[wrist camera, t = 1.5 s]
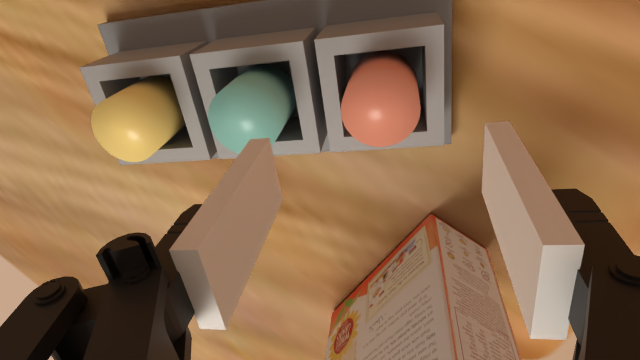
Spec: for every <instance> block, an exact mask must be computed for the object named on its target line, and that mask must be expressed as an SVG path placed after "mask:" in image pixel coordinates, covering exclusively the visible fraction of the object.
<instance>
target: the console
mask: <svg viewBox="0 0 640 360" xmlns="http://www.w3.org/2000/svg"><path fill="white" fill-rule="evenodd" d="M98 27H99V30H100V33H101V35H102V38H103V41H104V43H105V46H106V49H107V51H108V54H109V56H107V57H104V58H102V59H99V60H97V61H95V62H92V63H90V64H87V65H85V66H82V67H80V70H81V72H82V75H83V77H84V80H85V82H86V84H87V87H88V89H89V92H90V94H91V96H92V99H93V101H94V104H95V106H96V105H97V104H98V103H100V102H101V101H103V100H105V99H107V98H109V97H110V96H112V95H114V94H116V93H118V92H119V91H121V90H123V89H125V88H127V87H129V86H130V85H132V84H134V83H136V82H138V81H139V80H141V79H143V78H145V77H148V76H155V75H156V76H162V77H165V78H168V79H169V80H171V81H172V82H173V85H174V88H175V92H176V95H177V98H178V101H179V104H180V108H181V111H182V114H183V117H184V120H185V123H186V125H185V126H184V127H183V128H182V129H181V130H180V131H179V132H178V133H176V134H175V135H174V136H173V137H172V138H171V139H170V140H168V141H167V142H166V143H165V144H164V145H163V146H162V147H161V148H159V149H158V150H157V151H156V152H155V153H154V154H153V155H151V156H150V157H149V158H148V159H146V160H144V161H141V162H127V161H123V160H121V159H118V158H117V159H118V161H119V164H120V165H130V164H147V163H163V162H180V161H196V160H211V158H219V159H229V158H237V157H238V155H239V154H238V153H236V152H233V151H231V150H229V149H228V148H226V147H225V146H223V145H222V144H221V143H220V142H219V141H218V140H217V138H216V137H215V136H214V134H213V132H212V130H211V128H210V125H209V120H208V110H209V106H210V103H211V101H212V99H213V98H214V97H215V95H216V94H217V93H219V92H220V91H221V90H222V89H223V88H224V87H226V86H227V85H228V84H229V83H230V82H231V81H232V80H234V79H235V78H236V77H237V76H238V75H239V74H241V73H242V72H243V71H244V70H245V69H247V68H248V67H250V66H252V65H256V64H269V65H273V66H276V67H277V68H279V69H281V70H282V71H284V72H285V73H286V74H287V75H288V76H289V78H290V79H291V80H292V82H293V85H294V91H295V97H296V106H295V109H294V111H293V113H292V114H291V116H290V118H289V119H288V121H287V123H286V124H285V126H284V128H283V129H282V131H281V133H280V134H279V136H278V138H277V139H276V141H275V142H274V144H273V145H272V146H271V148H272V152H273V156H278V155H294V154H311V153H321V152H325V151H330V152H344V151H360V150H377V149H393V148H409V147H426V146H442V145H444V144H451V103H452V0H259V1H252V2H245V3H238V4H231V5H224V6H216V7H209V8H202V9H195V10H188V11H181V12H174V13H167V14H160V15H153V16H146V17H139V18H132V19H125V20H118V21H111V22H106V23H102V24H99V25H98ZM383 50H386V51H393V52H396V53H398V54H400V55H402V56H403V57H405V58H406V59H407V60H408V61H409V62H410V63H411V65H412V66H413V68H414V70H415V73H416V77H417V84H418V91H419V99H420V107H421V110H420V118H419V121H418V123H417V125H416V127H415V129H414V130H413V132H412V133H411V134H410V135H409V136H408V137H407V138H406V139H404V140H403V141H401V142H399V143H397V144H394V145H391V146H386V147H374V146H369V145H366V144H363V143H361V142H360V141H358V140H356V139H355V138H354V137H353V136H352V135H351V134H350V133H349V132H348V131H347V129H346V128H345V126H344V123H343V121H342V117H341V103H342V99H343V96H344V93H345V90H346V87H347V84H348V82H349V79H350V76H351V73H352V70H353V69H354V67H355V65H356V64H357V63H358V62H359V60H361V59H362V58H363V57H364V56H366V55H368V54H370V53H372V52H375V51H383Z"/></svg>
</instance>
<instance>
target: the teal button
mask: <svg viewBox="0 0 640 360" xmlns="http://www.w3.org/2000/svg"><path fill="white" fill-rule="evenodd" d="M295 106H296V97H295V91H294V85H293V82H292V80H291V79H290V78H289V76H288V75H287V74H286V73H285V72H284V71H282V70H281V69H279V68H277V67H276V66H273V65H269V64H256V65H252V66H250V67H248V68H247V69H245V70H244V71H243V72H242V73H241V74H239V75H238V76H237V77H236V78H235V79H234V80H232V81H231V82H230V83H229V84H228V85H227V86H226V87H224V88H223V89H222V90H221V91H220V92H219V93H217V94H216V95H215V97H214V98H213V99H212V101H211V103H210V106H209V110H208V120H209V125H210V128H211V130H212V132H213V134H214V136H215V137H216V138H217V140H218V141H219V142H220V143H221V144H222V145H223V146H225V147H226V148H228V149H229V150H231V151H233V152H236V153H238V154H240V153H241V151H242V150H243V149H244V147H245V146H246V144H247V143H248V142H249V140H250V139H262V138H270V143H271V146H272V145H273V144H274V142H275V141H276V139H277V138H278V136H279V134H280V133H281V131H282V129H283V128H284V126H285V124H286V123H287V121H288V119H289V118H290V116H291V114H292V113H293V111H294V109H295Z"/></svg>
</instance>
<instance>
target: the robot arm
mask: <svg viewBox="0 0 640 360" xmlns="http://www.w3.org/2000/svg"><path fill="white" fill-rule="evenodd" d="M482 195H483V198H484V201H485V204H486V207H487V210H488V213H489V216H490V219H491V222H492V225H493V228H494V231H495V234H496V237H497V240H498V243H499V246H500V249H501V252H502V255H503V258H504V261H505V264H506V267H507V270H508V273H509V276H510V279H511V282H512V285H513V288H514V291H515V294H516V297H517V300H518V303H519V306H520V309H521V312H522V315H523V318H524V322H525V325H526V328H527V331H528V334H529V337H530V339H558V340H566V337H567V332H568V327H569V322H570V324H571V326H572V329H573V331H574V333H575V335H576V337H577V341H576V346H575V351H574V355H573V360H640V256H636V255H634V254H633V253H632V251H631V250H630V249H629V247H628V246H627V245H626V243H625V242H624V241H623V239H622V238H621V237H620V235H619V234H618V233H617V231H616V230H615V229H614V227H613V226H612V225H611V223H608V219H607V218H606V217H605V215H604V214H603V213H601V210H600V209H599V207H598V206H597V205H596V203H595V202H594V201H593V199H592V198H590V197H589V196H587V195H585V194H584V193H582V192H580V191H579V190H577V189H556V190H551V189H550V187H549V185H548V184H547V182H546V180H545V179H544V177H543V176H542V174H541V172H540V171H539V169H538V167H537V166H536V164H535V162H534V161H533V159H532V158H531V156H530V154H529V153H528V151H527V149H526V148H525V146H524V144H523V143H522V141H521V140H520V138H519V136H518V135H517V133H516V131H515V130H514V128H513V126H512V125H511V123H510V121H501V122H487V123H485V133H484V154H483V175H482ZM282 201H283V198H282V193H281V189H280V184H279V180H278V175H277V171H276V166H275V161H274V157H273V152H272V148H271V143H270V138H262V139H250V140H249V142H248V143H247V144H246V146H245V147H244V149H243V150H242V151H241V153H240V154H239V155H238V157H237V158H236V159H235V161H234V162H233V164H232V165H231V166H230V168H229V169H228V170H227V172H226V173H225V174H224V176H223V177H222V179H221V180H220V181H219V183H218V184H217V185H216V187H215V188H214V189H213V191H212V192H211V194H210V195H209V196H208V198H207V199H206V200H205V202H204V203H203V204H194V205H193V206H191V207H190V208H189V209H187V210H186V211H184V212H183V213H182V214H181V215H180V216H179V218H178V219H177V220H176V221H175V223H174V226H171V228H170V229H169V230H168V232H167V234H165V235H164V237H163V238H162V239H161V241H160V242H159V243H158V244H157V246H156V247H155V246H154V244H153V242H152V239H151V237H150V236H149V235H147V234H146V233H131V234H127V235H124V236H121V237H118V238H116V239H114V240H112V241H110V242H109V243H107V244H106V245H105V246H104V247H102V248H101V249H100V250H99V252H98V253H97V255H96V257H97V259H98V261H99V263H100V265H101V267H102V269H103V270H104V272H105V274H106V276H107V278H108V280H109V283H108V284H105V285H101V286H96V287H92V288H88V289H83V288H82V286H81V284H80V282H79V281H78V279H76V278H74V277H61V278H56V279H53V280H50V281H47V282H45V283H43V284H42V285H41V286H39V287H38V288H36V289H34V290H33V291H32V292H31V293H30V294H29V295H28V296H27V297H26V298H25V299H24V300H23V301H22V302H21V304H20V305H19V306H18V307H17V308H16V309H15V311H14V312H13V313H12V314H11V315H10V316H9V317H8V319H7V320H6V321H5V322H4V323H3V324H2V326H1V327H0V360H48V359H49V357H50V356H52V357H53V359H54V360H191V341H192V338H191V333H190V331H189V328H188V324H189V322H190V321H191V319H192V317H193V315H195V317H196V320H197V322H198V325H199V327H200V329H221V330H226V328H227V326H228V324H229V322H230V319H231V317H232V315H233V312H234V310H235V308H236V306H237V303H238V301H239V299H240V296H241V294H242V292H243V290H244V287H245V285H246V283H247V280H248V278H249V276H250V274H251V271H252V269H253V267H254V265H255V262H256V260H257V258H258V255H259V253H260V251H261V249H262V246H263V244H264V242H265V239H266V237H267V235H268V233H269V230H270V228H271V226H272V223H273V221H274V219H275V217H276V214H277V212H278V210H279V208H280V205H281V203H282Z"/></svg>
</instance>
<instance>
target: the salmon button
mask: <svg viewBox="0 0 640 360" xmlns="http://www.w3.org/2000/svg"><path fill="white" fill-rule="evenodd" d="M420 110H421V107H420V99H419V91H418V84H417V77H416V73H415V70H414V68H413V66H412V65H411V63H410V62H409V61H408V60H407V59H406V58H405V57H403V56H402V55H400V54H398V53H396V52H393V51H386V50H383V51H375V52H372V53H370V54H368V55H366V56H364V57H363V58H362V59H361V60H359V62H358V63H357V64H356V65H355V67H354V69H353V70H352V73H351V76H350V79H349V82H348V84H347V87H346V90H345V93H344V96H343V99H342V103H341V117H342V121H343V123H344V126H345V128H346V129H347V131H348V132H349V133H350V134H351V135H352V136H353V137H354V138H355V139H356V140H358V141H360V142H361V143H363V144H366V145H369V146H374V147H386V146H391V145H394V144H397V143H399V142H401V141H403V140H404V139H406V138H407V137H408V136H409V135H410V134H411V133H412V132H413V130H414V129H415V127H416V125H417V123H418V121H419V118H420Z"/></svg>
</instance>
